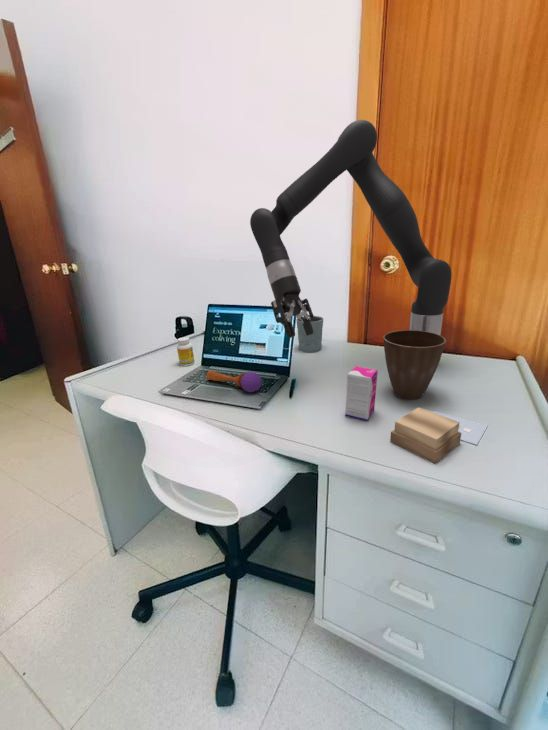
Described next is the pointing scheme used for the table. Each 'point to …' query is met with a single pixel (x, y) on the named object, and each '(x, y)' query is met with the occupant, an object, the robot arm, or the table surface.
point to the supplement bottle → (185, 352)
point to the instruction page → (467, 429)
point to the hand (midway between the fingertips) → (301, 335)
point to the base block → (426, 434)
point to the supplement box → (361, 393)
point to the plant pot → (412, 360)
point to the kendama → (238, 380)
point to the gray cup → (311, 341)
